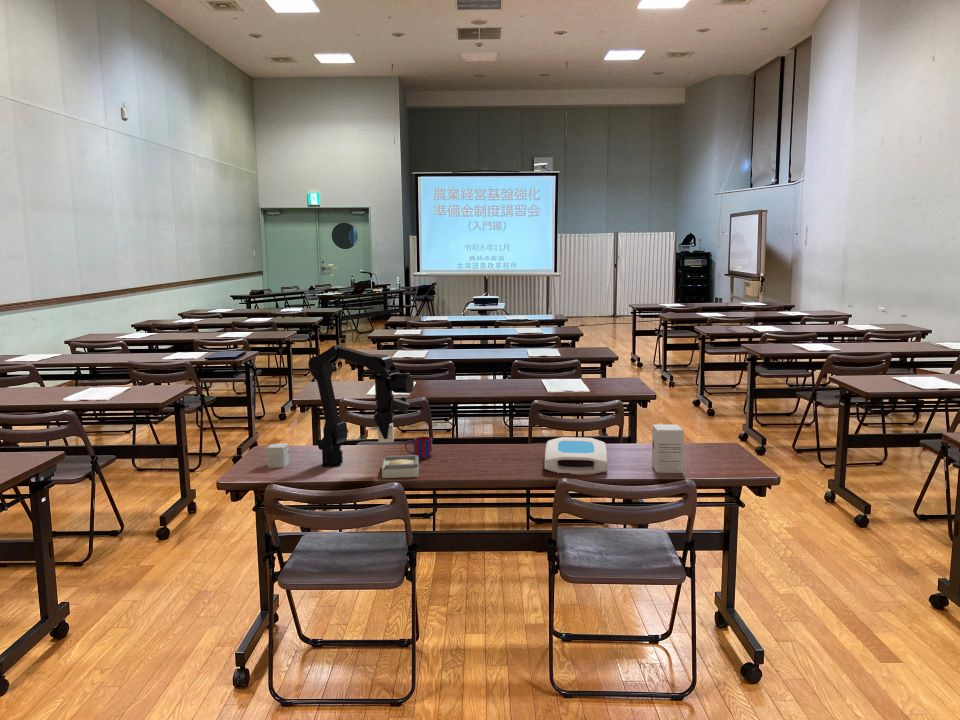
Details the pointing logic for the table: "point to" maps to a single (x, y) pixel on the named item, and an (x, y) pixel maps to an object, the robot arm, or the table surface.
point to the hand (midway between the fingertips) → (386, 437)
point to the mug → (421, 447)
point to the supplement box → (667, 448)
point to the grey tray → (400, 466)
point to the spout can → (390, 434)
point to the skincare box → (278, 455)
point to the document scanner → (576, 455)
